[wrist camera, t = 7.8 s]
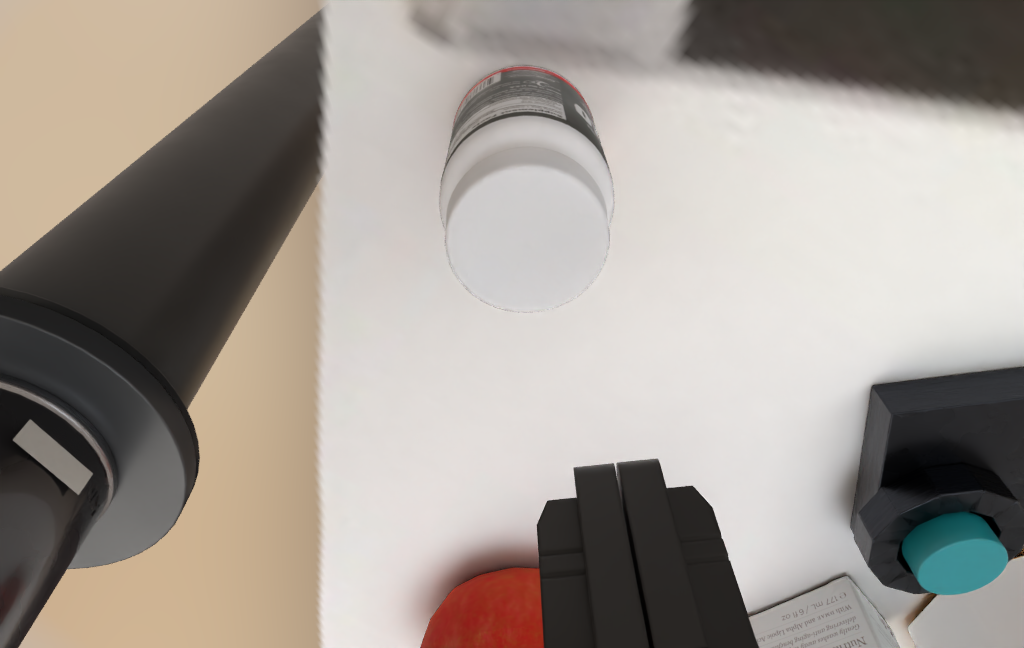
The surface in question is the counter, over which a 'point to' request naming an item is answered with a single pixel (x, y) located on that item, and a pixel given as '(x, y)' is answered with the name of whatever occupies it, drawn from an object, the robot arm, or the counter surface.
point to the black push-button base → (939, 464)
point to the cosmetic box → (824, 621)
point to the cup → (976, 615)
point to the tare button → (954, 553)
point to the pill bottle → (526, 192)
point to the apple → (490, 613)
